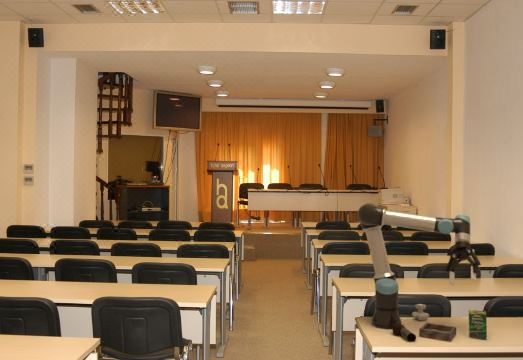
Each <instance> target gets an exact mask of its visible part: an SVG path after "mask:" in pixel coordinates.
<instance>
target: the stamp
mask: <svg viewBox="0 0 523 360" xmlns="http://www.w3.org/2000/svg"><path fill="white" fill-rule="evenodd" d="M414 306H415V309H416V310H417V311H413V312H412V313H411V315H412V317H413V318H415V320H416V319H418V320H417V321H419V320H422V321H426V320H427V319H428V318H429V317H430V314H429V313H428V312H427V313H426V312H424V310H426V307H427V305H426V304H423V303H418V304H415V305H414Z"/></svg>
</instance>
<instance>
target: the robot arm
mask: <svg viewBox="0 0 523 360" xmlns="http://www.w3.org/2000/svg"><path fill="white" fill-rule="evenodd" d="M357 219H358V220H359V222H360V227H361V229H362V231H363V232H365V235H366V240H367V244H368V248H369V253H370V256H371V261H372V265H373V269H374V276H373V280H374V288H375V289H374V291H375V297H374V298H375V300H374V301H375V302H374V303H375V309H374V312H373V316H372V318H371V325H372V326H374V327H376V328H379V329H387V330H390V329H391V330H393V327H392V326H393V324H394V323H396V322H397V323H398V324H399V323H400V324H402V320H401V316H400V314H399V287H400V286H399V282H398V281H397V278H396V275H395V272H393V271H392V270H391V266H390V261H389V258H388V252H387V247H386V244H385V241H384V236H383V232H382V227H383V226H384V225H387V226H393V227H399V228H400V227H401V228H406V229H413V230H421V231H426V232H427V231H428V232H433V233H439V234H443V235H449V234H452V233H453V234H454V249H455V250H454V251H455V253H450V255H449V259H448V262H447V265H446V268H445V272H447V273H448V279H449V284H450V285H452V286H455V275H456V273H455V269H457V267H458V265H459V264H460V263H461V262H464V261H468V262H469V264H470V265H471V266H470V279H471V280H473V281H477V274H478V267H479V266H481V262H480V260H479V258H478V256H477V254H476V250H475V249H473V248H471V220H470V217H469V216H468V215H466V214H457V215H455V217H454V218H448V217H440V216H436V217H435V216H429V215H428V216H427V215H421V214H414V213H413V214H412V213H409V212H408V213H407V212H399V211H394V210H387V209H386V208H385V207H378V206H377V205H376V204H375V203H373V202H372V203H365V204H363V205H362V206H360V207H359V208H358V210H357ZM470 255H471V256H470Z"/></svg>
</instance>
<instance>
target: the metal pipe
mask: <svg viewBox="0 0 523 360" xmlns="http://www.w3.org/2000/svg"><path fill="white" fill-rule="evenodd" d="M392 327H393V329H392V334H393V335H394V336H397V337H398V336H400V337H403V338H404V339H405V340H407V342H409V343H412V342H413V343H414V342H416V340H417V335H416V334H415V333H413V332H412V331H411V330H409V329H408V328H407V327H405V325H404V324H402V323H401V324H400V323H399V324H398V323H397V322H396V323H394V324H393V326H392Z"/></svg>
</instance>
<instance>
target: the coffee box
mask: <svg viewBox="0 0 523 360" xmlns="http://www.w3.org/2000/svg"><path fill="white" fill-rule="evenodd" d="M487 323H488V321H487V311H486V310H475V309H468V337H469V338H473V339H480V340H487V337H488V335H487V334H488V333H487V332H488V330H487V328H488V327H487Z"/></svg>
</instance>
